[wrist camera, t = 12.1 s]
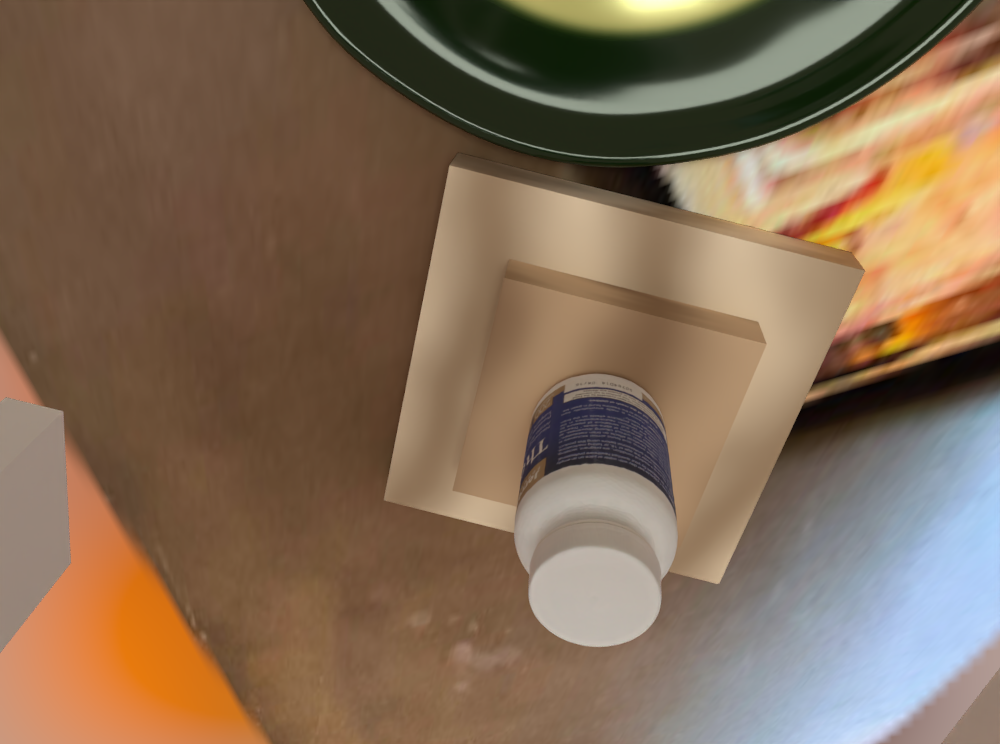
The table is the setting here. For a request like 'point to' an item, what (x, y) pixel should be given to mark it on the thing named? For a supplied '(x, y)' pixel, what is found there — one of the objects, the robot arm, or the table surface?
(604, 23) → the plate
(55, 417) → the robot arm
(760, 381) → the base
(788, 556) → the table surface
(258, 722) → the table surface
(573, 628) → the pill bottle
